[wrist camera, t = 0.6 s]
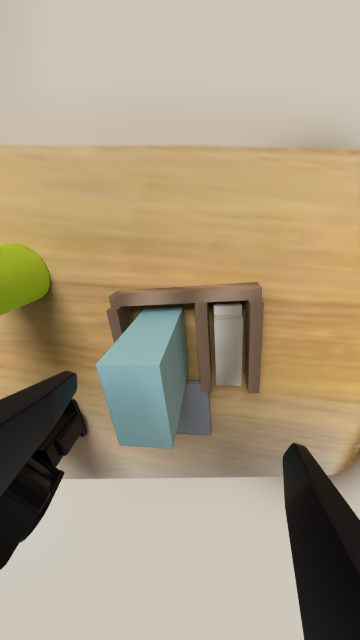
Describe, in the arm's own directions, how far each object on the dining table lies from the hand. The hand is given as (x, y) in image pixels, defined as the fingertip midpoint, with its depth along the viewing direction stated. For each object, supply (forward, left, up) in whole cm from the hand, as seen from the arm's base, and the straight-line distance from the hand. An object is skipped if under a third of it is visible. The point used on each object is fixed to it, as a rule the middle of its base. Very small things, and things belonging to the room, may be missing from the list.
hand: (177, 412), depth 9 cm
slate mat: (-4, -13, -14) cm, 19 cm away
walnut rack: (-1, -4, -14) cm, 14 cm away
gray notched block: (+3, -4, -14) cm, 15 cm away
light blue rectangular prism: (-4, -4, -14) cm, 15 cm away
